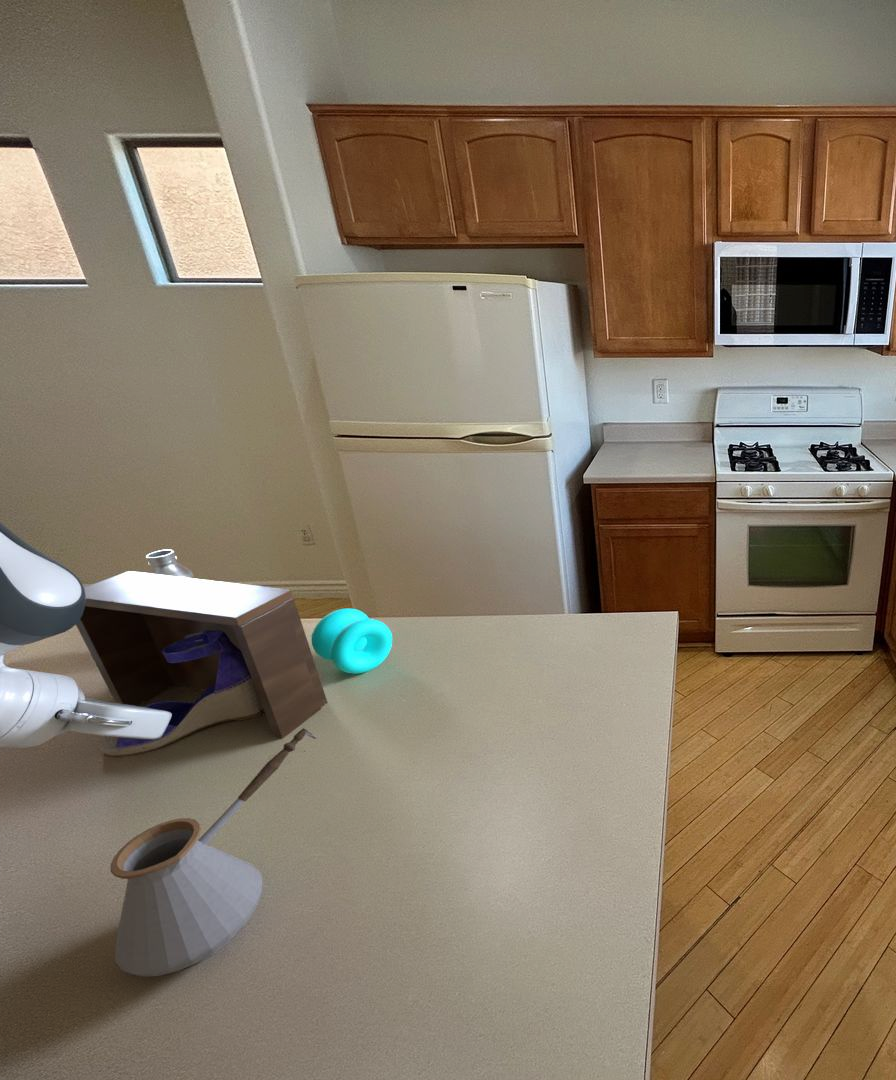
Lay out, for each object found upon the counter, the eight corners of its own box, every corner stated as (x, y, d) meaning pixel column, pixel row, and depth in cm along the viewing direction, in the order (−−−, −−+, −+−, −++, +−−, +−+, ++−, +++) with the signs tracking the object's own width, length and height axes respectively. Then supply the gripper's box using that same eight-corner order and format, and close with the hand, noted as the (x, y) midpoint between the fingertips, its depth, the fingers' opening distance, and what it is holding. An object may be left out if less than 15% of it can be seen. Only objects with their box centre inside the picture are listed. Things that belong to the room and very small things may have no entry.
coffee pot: (170, 1013, 52) (103, 906, 46) (100, 964, 55) (30, 860, 50) (373, 829, 70) (344, 737, 64) (311, 802, 74) (278, 712, 68)
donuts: (344, 686, 96) (329, 637, 93) (316, 667, 101) (301, 620, 98) (400, 658, 104) (389, 612, 100) (372, 642, 109) (360, 598, 105)
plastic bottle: (175, 661, 102) (133, 564, 95) (176, 646, 107) (136, 552, 99) (221, 649, 106) (183, 554, 99) (220, 634, 111) (184, 543, 103)
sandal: (125, 726, 87) (84, 645, 81) (276, 699, 93) (248, 622, 87) (92, 763, 80) (45, 677, 74) (258, 731, 86) (226, 650, 80)
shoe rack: (119, 710, 90) (60, 595, 82) (176, 678, 98) (127, 570, 90) (282, 738, 85) (237, 618, 76) (329, 702, 92) (292, 589, 84)
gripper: (109, 694, 67) (217, 706, 80) (-16, 673, 71) (107, 688, 83) (79, 748, 65) (196, 752, 78) (-49, 724, 69) (83, 732, 81)
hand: (149, 719), depth 81 cm, fingers closed
